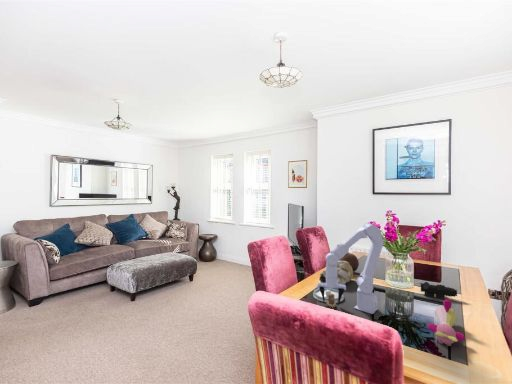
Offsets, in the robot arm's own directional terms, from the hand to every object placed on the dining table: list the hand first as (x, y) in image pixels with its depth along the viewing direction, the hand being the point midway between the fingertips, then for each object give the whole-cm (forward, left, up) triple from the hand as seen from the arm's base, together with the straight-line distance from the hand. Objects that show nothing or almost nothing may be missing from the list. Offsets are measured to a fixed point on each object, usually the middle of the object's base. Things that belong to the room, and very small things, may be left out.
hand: (331, 301), depth 140 cm
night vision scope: (-39, -54, -2) cm, 67 cm away
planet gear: (0, 0, -2) cm, 2 cm away
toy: (-49, -8, -3) cm, 49 cm away
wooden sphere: (+18, -62, -2) cm, 65 cm away
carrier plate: (+7, -10, -2) cm, 12 cm away
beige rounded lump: (+13, -36, -3) cm, 38 cm away
